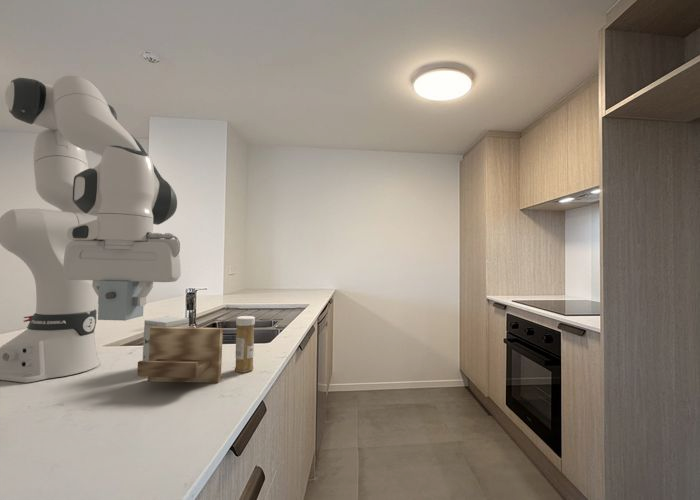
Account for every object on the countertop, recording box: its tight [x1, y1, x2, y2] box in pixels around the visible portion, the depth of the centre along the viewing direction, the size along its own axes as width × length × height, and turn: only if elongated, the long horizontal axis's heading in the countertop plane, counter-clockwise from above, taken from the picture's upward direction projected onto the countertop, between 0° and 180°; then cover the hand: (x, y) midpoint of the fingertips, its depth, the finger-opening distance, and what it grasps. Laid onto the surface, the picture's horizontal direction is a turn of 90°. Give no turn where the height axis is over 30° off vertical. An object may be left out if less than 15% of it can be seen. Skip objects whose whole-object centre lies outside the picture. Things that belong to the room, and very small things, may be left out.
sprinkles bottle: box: [234, 315, 256, 374], centre depth 83 cm, size 5×5×14 cm
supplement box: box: [142, 315, 190, 361], centre depth 83 cm, size 7×7×13 cm
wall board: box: [136, 326, 224, 384], centre depth 71 cm, size 16×8×12 cm, turn 90°
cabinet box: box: [97, 281, 145, 322], centre depth 61 cm, size 5×6×7 cm
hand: (122, 305), depth 61 cm, fingers closed on cabinet box, 5 cm apart
